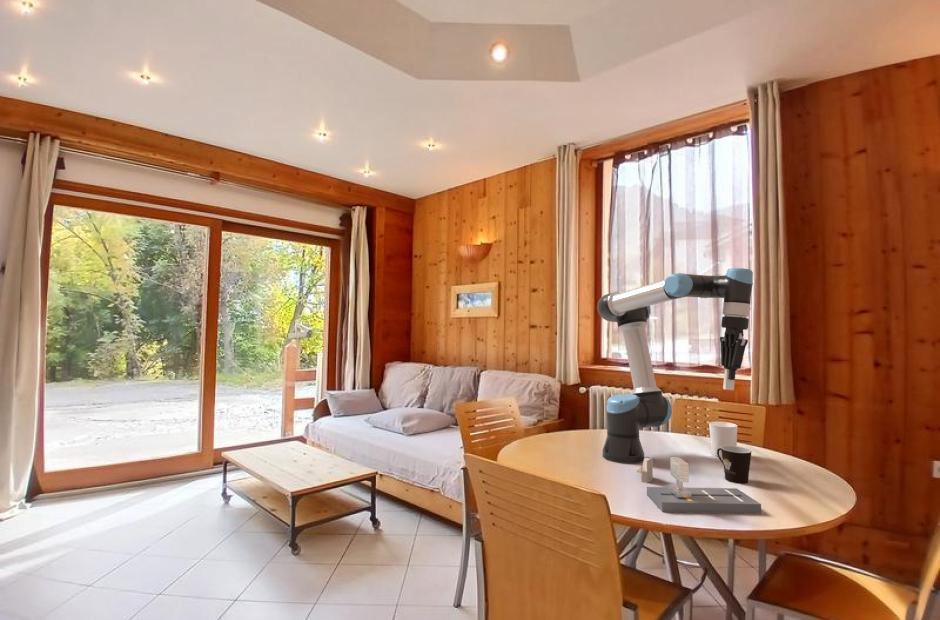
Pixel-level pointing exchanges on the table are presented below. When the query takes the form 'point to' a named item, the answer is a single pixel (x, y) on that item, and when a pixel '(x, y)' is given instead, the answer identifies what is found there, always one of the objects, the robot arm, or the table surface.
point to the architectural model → (646, 470)
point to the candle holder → (722, 436)
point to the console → (704, 501)
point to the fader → (679, 477)
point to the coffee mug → (735, 463)
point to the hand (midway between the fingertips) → (728, 389)
